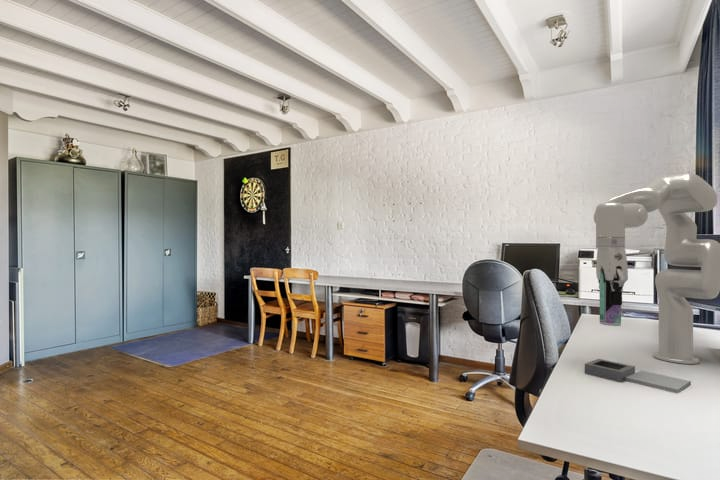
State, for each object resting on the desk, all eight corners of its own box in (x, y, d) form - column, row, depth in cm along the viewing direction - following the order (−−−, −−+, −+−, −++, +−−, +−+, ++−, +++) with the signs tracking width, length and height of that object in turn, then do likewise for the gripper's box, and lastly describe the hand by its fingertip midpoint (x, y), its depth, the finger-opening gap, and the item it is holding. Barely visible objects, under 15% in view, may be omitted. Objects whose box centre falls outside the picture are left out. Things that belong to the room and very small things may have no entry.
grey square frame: (598, 368, 126) (598, 358, 126) (634, 376, 118) (635, 366, 118) (584, 373, 120) (584, 363, 120) (621, 382, 112) (621, 372, 112)
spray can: (615, 326, 116) (616, 258, 116) (596, 323, 120) (596, 258, 121) (624, 325, 119) (624, 258, 120) (604, 322, 124) (605, 258, 124)
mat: (641, 373, 121) (641, 370, 121) (690, 384, 112) (690, 381, 112) (625, 380, 114) (625, 377, 114) (677, 393, 105) (677, 389, 105)
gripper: (639, 243, 111) (640, 308, 111) (609, 244, 128) (609, 299, 128) (611, 243, 112) (611, 307, 112) (584, 243, 129) (585, 299, 129)
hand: (610, 302), depth 120 cm, fingers closed on spray can, 5 cm apart
